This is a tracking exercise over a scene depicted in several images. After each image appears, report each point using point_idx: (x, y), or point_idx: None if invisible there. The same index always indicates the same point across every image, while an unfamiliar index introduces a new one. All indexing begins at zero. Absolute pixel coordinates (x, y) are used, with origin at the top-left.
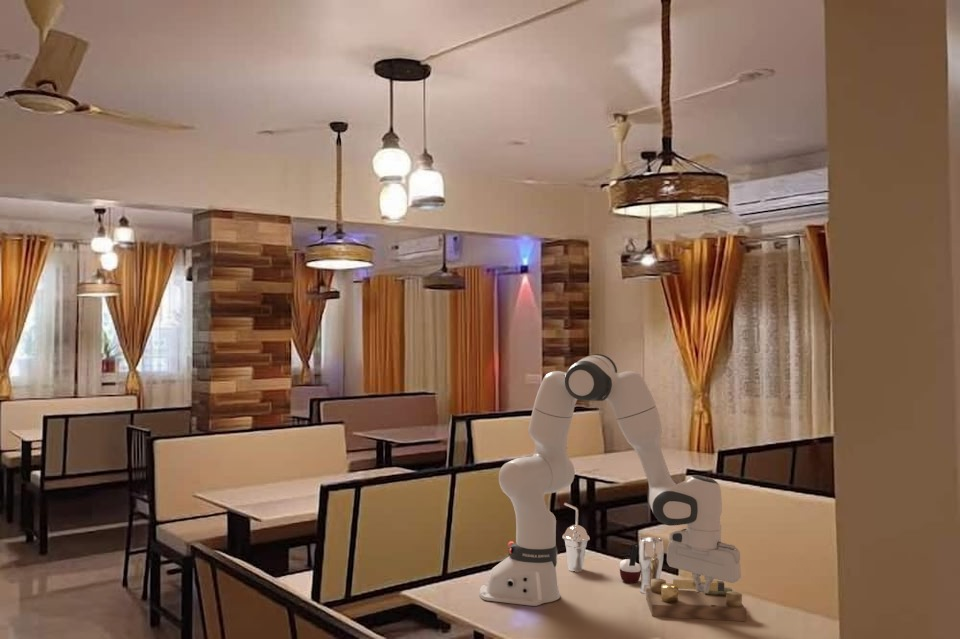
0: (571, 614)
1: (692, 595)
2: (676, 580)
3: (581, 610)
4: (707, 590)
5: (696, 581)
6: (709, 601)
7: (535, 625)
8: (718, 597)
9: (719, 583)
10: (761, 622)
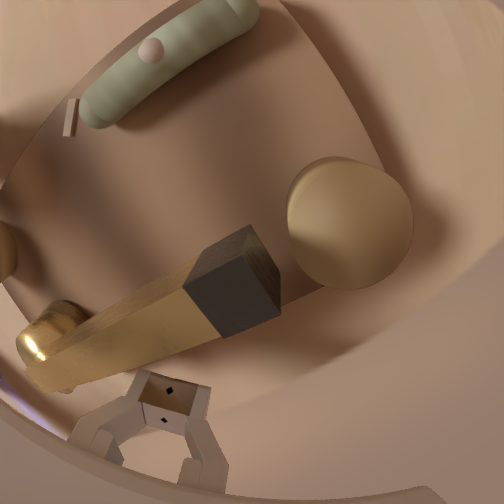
0: (36, 394)
1: (78, 193)
2: (41, 384)
3: (24, 374)
4: (207, 405)
5: (130, 435)
6: (186, 232)
7: (61, 435)
8: (196, 111)
9: (235, 331)
10: (443, 194)
